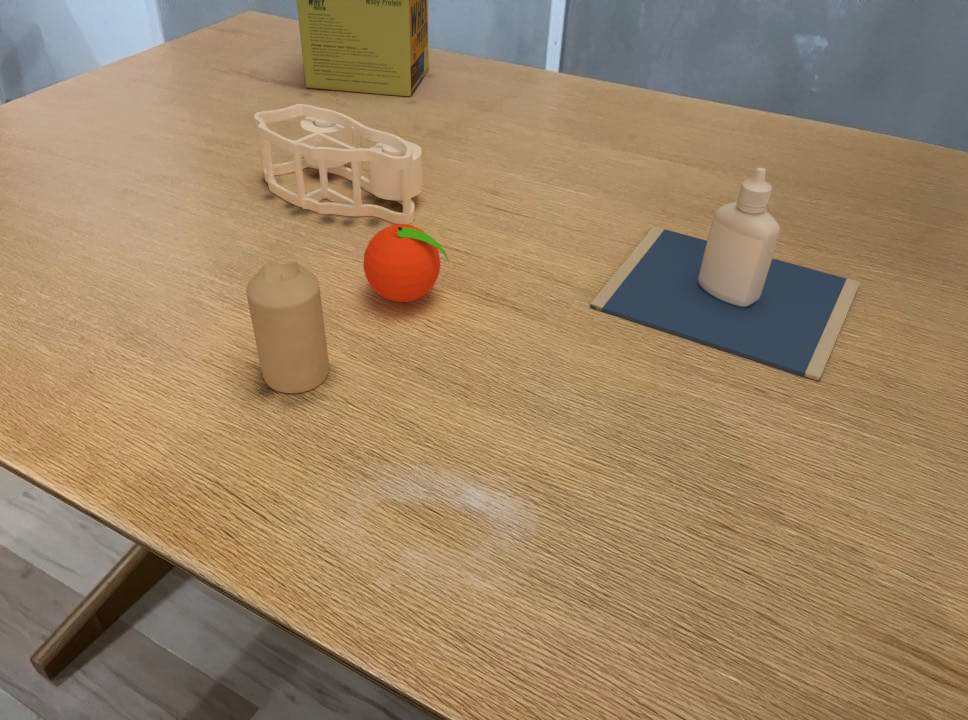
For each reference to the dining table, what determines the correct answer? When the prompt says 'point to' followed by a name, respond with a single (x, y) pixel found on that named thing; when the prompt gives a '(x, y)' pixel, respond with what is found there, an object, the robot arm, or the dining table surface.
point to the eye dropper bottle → (741, 245)
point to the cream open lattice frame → (342, 163)
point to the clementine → (402, 262)
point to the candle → (288, 327)
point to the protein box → (364, 44)
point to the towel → (731, 305)
